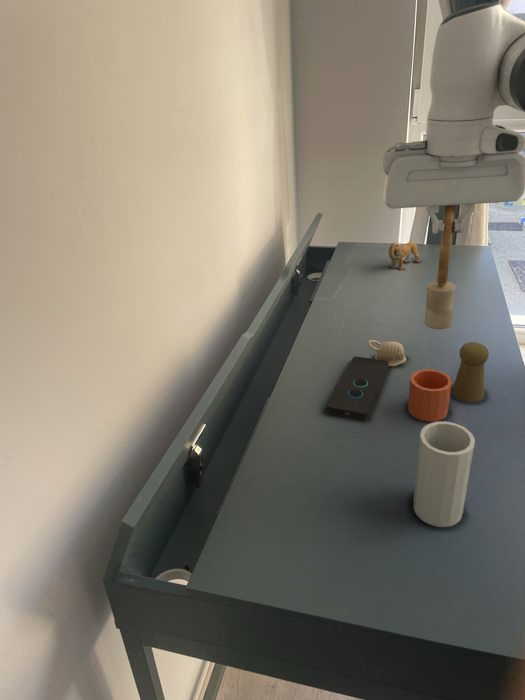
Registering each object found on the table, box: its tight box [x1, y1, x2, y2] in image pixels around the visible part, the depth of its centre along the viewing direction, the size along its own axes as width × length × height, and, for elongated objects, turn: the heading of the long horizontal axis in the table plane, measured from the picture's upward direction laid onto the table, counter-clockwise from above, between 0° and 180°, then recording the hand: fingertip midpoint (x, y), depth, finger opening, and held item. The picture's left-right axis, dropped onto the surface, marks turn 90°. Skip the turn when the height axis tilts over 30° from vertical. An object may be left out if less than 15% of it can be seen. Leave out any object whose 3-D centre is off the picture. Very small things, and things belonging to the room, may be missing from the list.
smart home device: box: [327, 355, 390, 421], centre depth 109 cm, size 8×2×20 cm
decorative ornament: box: [367, 339, 407, 367], centre depth 117 cm, size 4×8×5 cm, turn 75°
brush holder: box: [407, 368, 453, 423], centre depth 100 cm, size 7×7×7 cm
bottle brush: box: [423, 205, 457, 330], centre depth 85 cm, size 4×4×22 cm
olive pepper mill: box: [451, 341, 490, 403], centre depth 103 cm, size 6×6×11 cm
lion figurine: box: [388, 241, 420, 270], centre depth 164 cm, size 15×5×9 cm, turn 135°
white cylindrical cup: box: [412, 421, 476, 528], centre depth 77 cm, size 7×7×14 cm
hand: (447, 232), depth 83 cm, fingers closed on bottle brush
